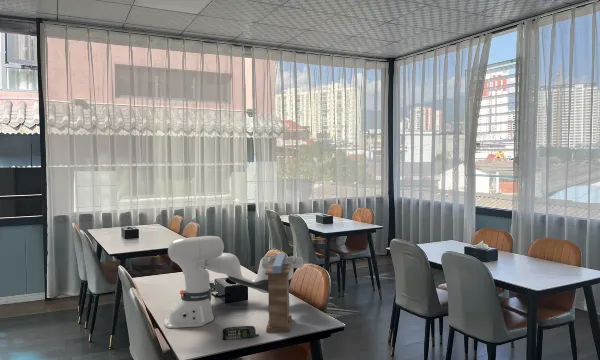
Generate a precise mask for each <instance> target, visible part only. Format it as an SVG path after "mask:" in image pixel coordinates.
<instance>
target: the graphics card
mask: <svg viewBox="0 0 600 360" xmlns="http://www.w3.org/2000/svg"><path fill="white" fill-rule="evenodd" d="M209 281H210V289H211V297H214V298H219V297H218V295H217V294H218V292H217V291H216V290H215V285H214V282H215V281H214V280H209Z"/></svg>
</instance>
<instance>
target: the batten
mask: <svg viewBox="0 0 600 360" xmlns="http://www.w3.org/2000/svg"><path fill="white" fill-rule="evenodd" d="M275 257H276V259H275V262H274V264H273V266H272V270H273V273H281V271H282V268H283V265H284V263H285V260H286V257H287V256H286V253H277V255H276V256H275Z"/></svg>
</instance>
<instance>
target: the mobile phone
mask: <svg viewBox="0 0 600 360" xmlns="http://www.w3.org/2000/svg"><path fill="white" fill-rule="evenodd" d="M256 333H257V332H256V327H255V326H254V325H242V326H241V325H240V326H239V325H238V326H230V327H225V328H223V329H222V340H223V341H228V340H229V341H230V340H247V339H251V338H254V337H259V336H260V334H258V333H257V334H256Z"/></svg>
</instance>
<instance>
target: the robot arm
mask: <svg viewBox="0 0 600 360" xmlns="http://www.w3.org/2000/svg"><path fill="white" fill-rule="evenodd" d="M224 248H225V245H224V241H223V239H222V238H221V237H220V236H215V235H202V236H192V237H182V238H178V239H175V240H172V241H171V242H170V243H169V245H168V249H167V255H168V258H170V260H171V261H172V262H174V263H175V264H177V265H178V266H179V267H180V268H181V270H182V274H183V275H184V284H185V285H184V286H185V290H184V289H181V290H180V291H179V294H180V295H181V296H180V300H178V301H177V302H176V303H175V304H173V305H172V306H171V308H170V310H169V314H168V316H167V317H165V319H164V322H163V324H164V327H165V328H168V329H177V328H194V327H195V328H197V327H202V326H205V325H206V324H208V323H210V322H212V321H213V320H214V319H215V317H214V316H215V315H214V313H213V310H212V309H213V307H212V304H211V302H212V295H211V289H210V281H211V280H210V272H213V273H218V274H224V275H225V276H227V278H228V280H230V281H231V282H233V283H235V284H238V285H241V286H244V287H247V288H250V289H253V290H256V291H258V292H261V293H263V294H269V293H268V275H265V272H266V270H267V268H268V266H269V264H274V262H275V259H276V257H277V256H273V255H267V256H264V257H262V258H261V259H260V262H259V265H258V271H257V274H256V278H255V279H252V278H249V277H246V276H243V275H242V271H241V270H242V269H241V263H240V260H239V258H238V257H237V256H236V255H235V254H233V253H230V252H224ZM285 257H286V260H285V263H284V264H291V268H290V271H289V280H291V279H292V277H293V276H294V269H301V268H302V267H304V266H305V264H304V258H303V257H302V256H293V255H289V256H285ZM209 271H210V272H209Z"/></svg>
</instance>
